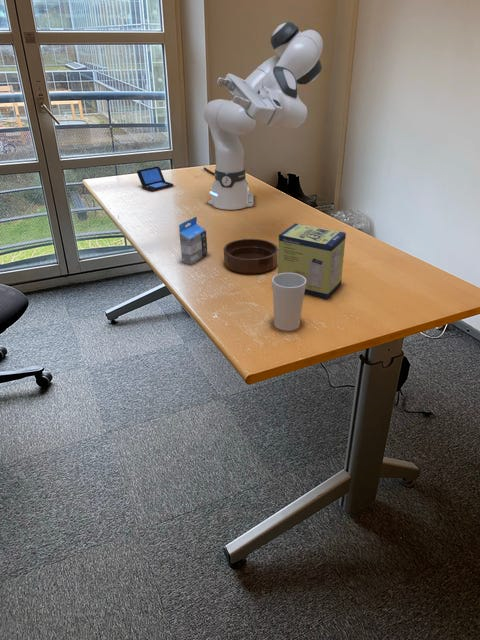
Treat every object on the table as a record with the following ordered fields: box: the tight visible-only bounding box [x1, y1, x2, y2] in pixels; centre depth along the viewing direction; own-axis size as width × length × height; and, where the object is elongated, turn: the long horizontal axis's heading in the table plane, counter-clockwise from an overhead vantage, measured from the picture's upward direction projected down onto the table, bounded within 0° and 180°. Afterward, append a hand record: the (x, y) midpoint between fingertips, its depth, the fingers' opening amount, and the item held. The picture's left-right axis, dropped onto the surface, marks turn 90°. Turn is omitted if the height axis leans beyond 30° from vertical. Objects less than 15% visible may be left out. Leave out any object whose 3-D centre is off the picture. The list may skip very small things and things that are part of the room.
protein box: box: [277, 222, 347, 300], centre depth 138 cm, size 10×16×16 cm
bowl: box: [223, 238, 278, 275], centre depth 153 cm, size 16×16×5 cm
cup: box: [271, 273, 306, 331], centre depth 121 cm, size 8×8×12 cm
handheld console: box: [136, 165, 174, 192], centre depth 225 cm, size 12×11×7 cm
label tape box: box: [178, 216, 209, 265], centre depth 155 cm, size 9×4×12 cm, turn 148°
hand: (225, 89), depth 139 cm, fingers open, 8 cm apart
